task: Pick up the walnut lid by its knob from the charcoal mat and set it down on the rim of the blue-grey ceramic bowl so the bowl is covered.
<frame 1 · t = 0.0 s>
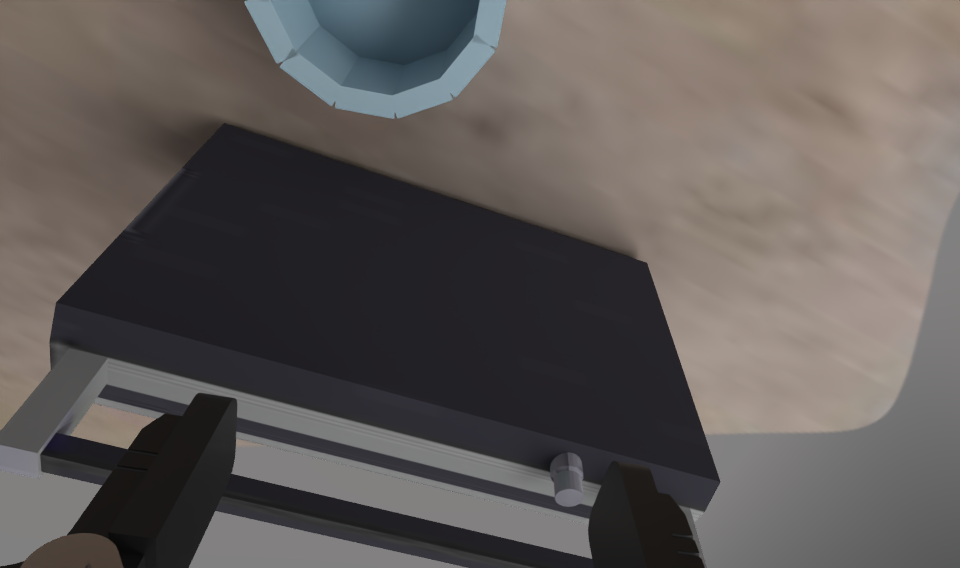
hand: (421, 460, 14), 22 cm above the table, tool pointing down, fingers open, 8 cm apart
radio: (440, 230, 37), on the table
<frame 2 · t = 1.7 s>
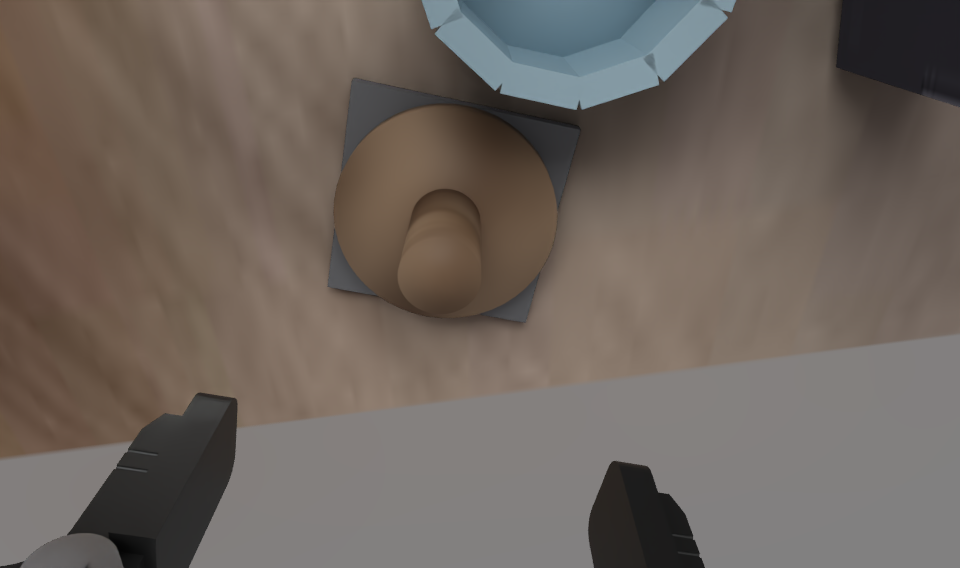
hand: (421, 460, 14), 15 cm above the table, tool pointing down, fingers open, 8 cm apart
mat: (447, 207, 27), on the table
lid: (446, 212, 27), point 1 cm above the table, touching mat
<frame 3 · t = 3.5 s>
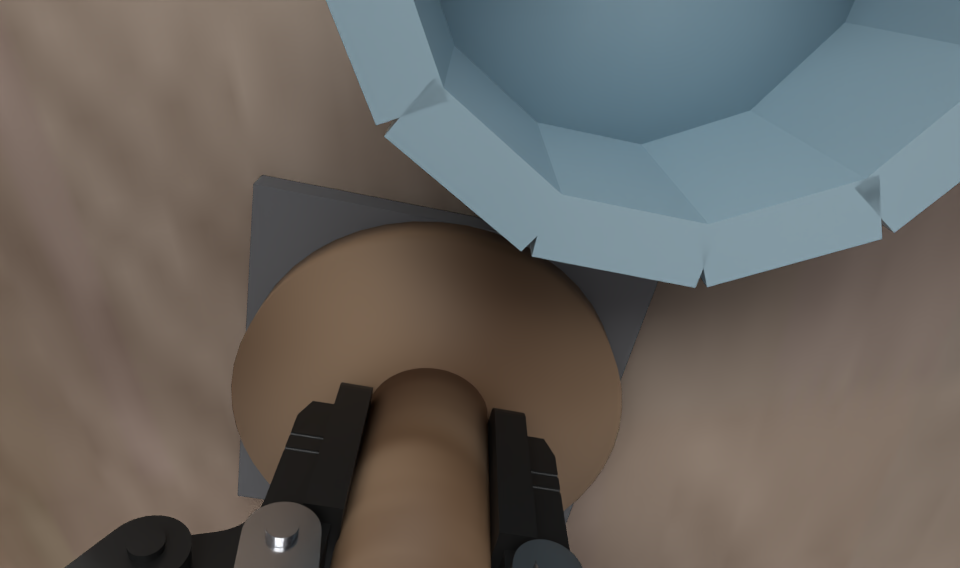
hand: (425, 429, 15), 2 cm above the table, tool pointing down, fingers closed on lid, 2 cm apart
mat: (431, 377, 16), on the table
lid: (430, 391, 16), point 1 cm above the table, touching gripper, mat
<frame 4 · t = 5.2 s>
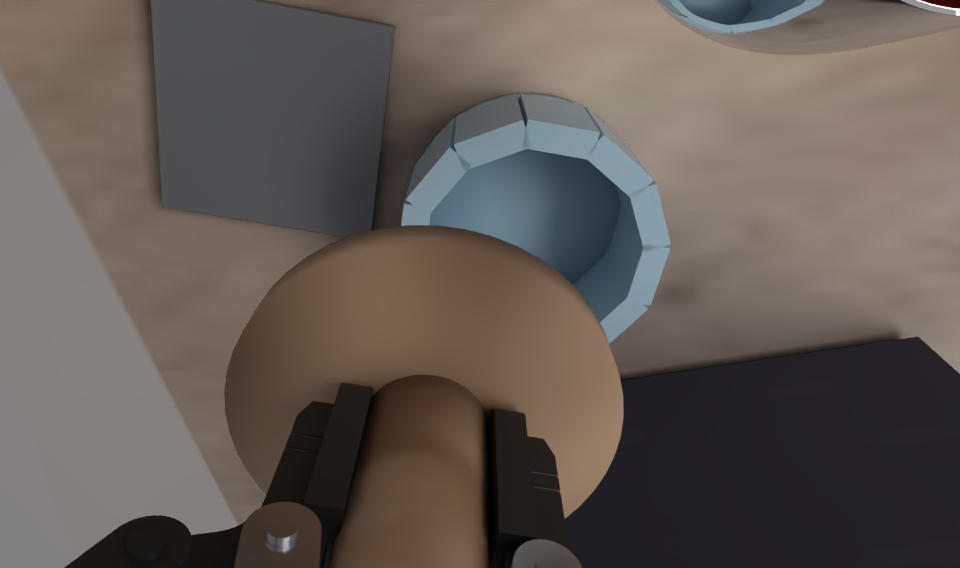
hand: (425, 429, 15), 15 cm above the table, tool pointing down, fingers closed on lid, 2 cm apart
mat: (274, 119, 27), on the table
bowl: (523, 208, 28), on the table
radio: (673, 402, 34), on the table
lid: (428, 397, 16), point 14 cm above the table, touching gripper
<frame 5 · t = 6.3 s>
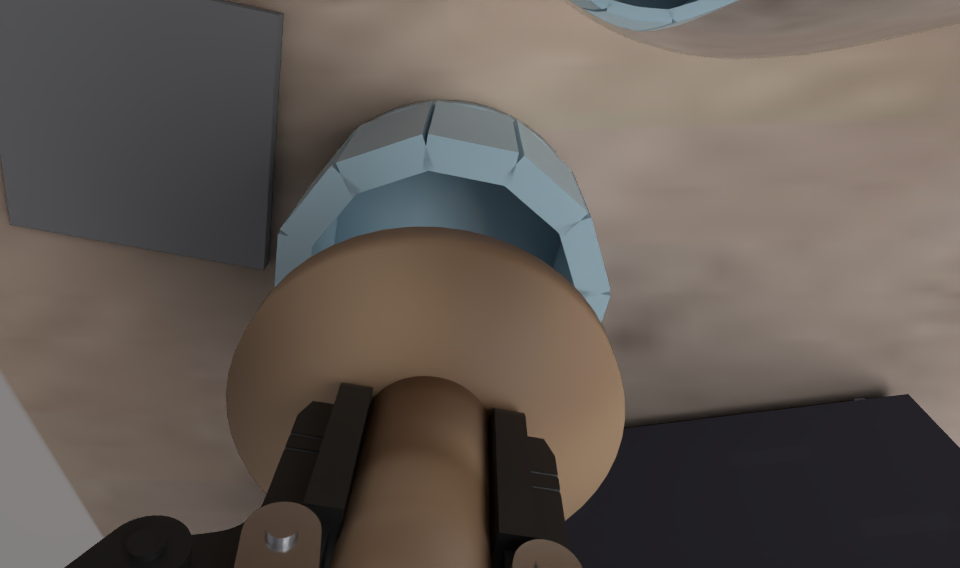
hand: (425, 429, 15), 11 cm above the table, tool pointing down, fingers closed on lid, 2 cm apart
mat: (142, 123, 22), on the table
bowl: (447, 235, 24), on the table
radio: (627, 459, 30), on the table
lid: (429, 399, 16), point 10 cm above the table, touching gripper
when the fingers open (8 cm above the table, at t = 7.1 s): lid drops 2 cm, resting on bowl.
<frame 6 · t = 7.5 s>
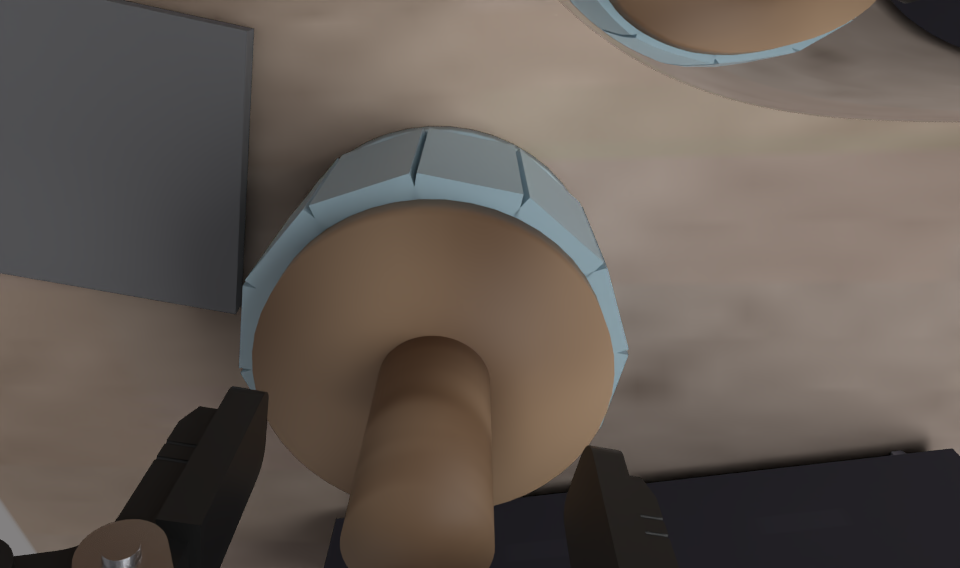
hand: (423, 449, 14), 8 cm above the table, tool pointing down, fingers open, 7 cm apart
mat: (96, 151, 19), on the table
bowl: (442, 276, 21), on the table
radio: (639, 514, 27), on the table
lid: (436, 360, 17), point 5 cm above the table, touching bowl
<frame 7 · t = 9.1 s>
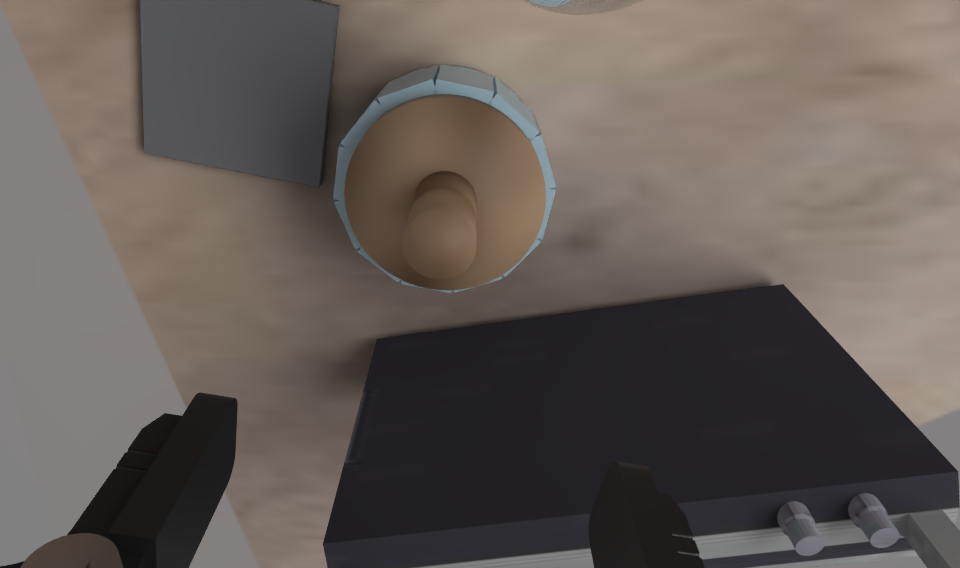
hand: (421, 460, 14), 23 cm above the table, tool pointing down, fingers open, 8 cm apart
mat: (239, 81, 32), on the table
bowl: (448, 163, 34), on the table
radio: (582, 341, 39), on the table
lid: (446, 194, 30), point 5 cm above the table, touching bowl
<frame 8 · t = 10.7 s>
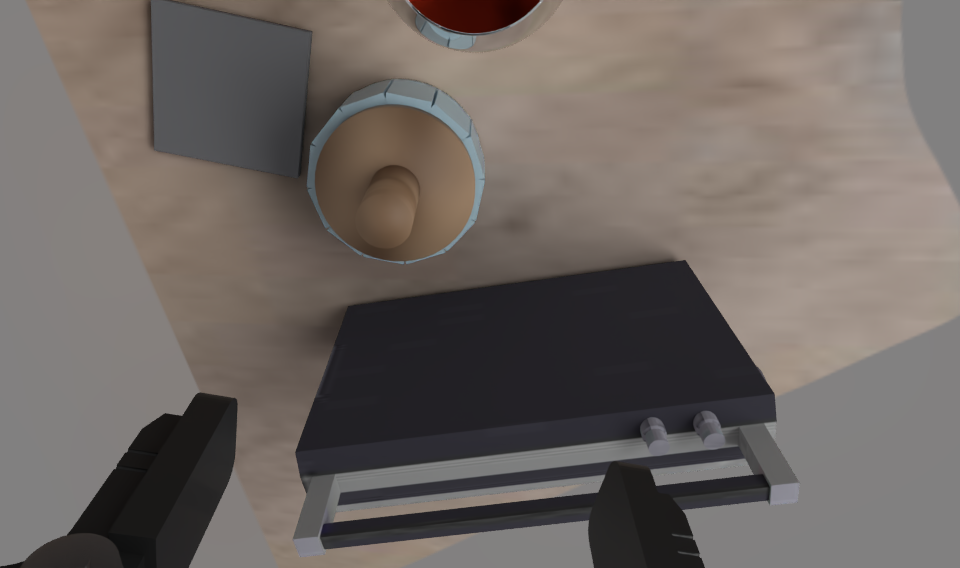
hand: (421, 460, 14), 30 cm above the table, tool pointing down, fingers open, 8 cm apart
mat: (232, 91, 39), on the table
bowl: (404, 158, 41), on the table
radio: (522, 308, 47), on the table
lid: (397, 183, 37), point 5 cm above the table, touching bowl
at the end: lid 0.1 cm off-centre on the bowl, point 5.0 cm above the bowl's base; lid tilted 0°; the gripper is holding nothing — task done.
